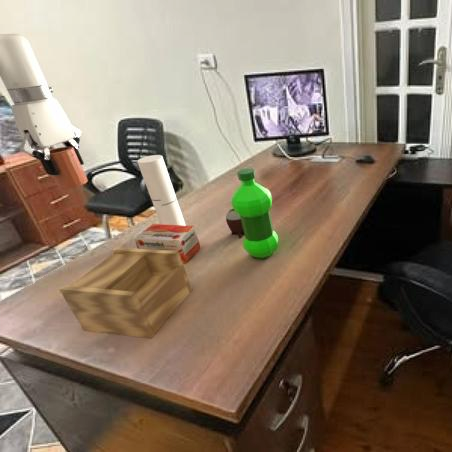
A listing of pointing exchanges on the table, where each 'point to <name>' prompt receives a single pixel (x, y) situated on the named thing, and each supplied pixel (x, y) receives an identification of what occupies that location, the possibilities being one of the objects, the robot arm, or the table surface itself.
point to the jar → (68, 168)
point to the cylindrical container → (161, 190)
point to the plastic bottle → (255, 215)
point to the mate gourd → (234, 222)
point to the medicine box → (170, 239)
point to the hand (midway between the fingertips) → (66, 168)
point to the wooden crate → (129, 292)
